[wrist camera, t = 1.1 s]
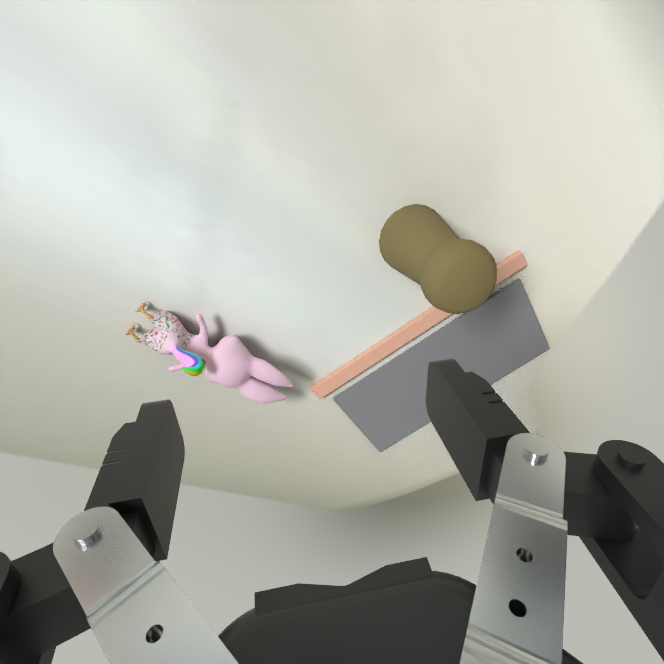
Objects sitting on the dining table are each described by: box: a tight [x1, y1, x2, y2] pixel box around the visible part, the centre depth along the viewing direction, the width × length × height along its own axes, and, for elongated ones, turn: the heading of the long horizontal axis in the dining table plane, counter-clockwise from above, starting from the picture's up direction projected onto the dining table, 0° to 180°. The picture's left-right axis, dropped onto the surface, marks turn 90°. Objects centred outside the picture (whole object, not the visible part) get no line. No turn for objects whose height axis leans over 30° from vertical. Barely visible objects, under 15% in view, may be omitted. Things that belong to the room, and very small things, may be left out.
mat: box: [333, 279, 550, 452], centre depth 45 cm, size 22×10×1 cm, turn 123°
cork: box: [379, 204, 497, 314], centre depth 33 cm, size 6×6×11 cm
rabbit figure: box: [124, 301, 294, 403], centre depth 37 cm, size 6×6×15 cm
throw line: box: [311, 251, 527, 399], centre depth 42 cm, size 24×2×1 cm, turn 123°
